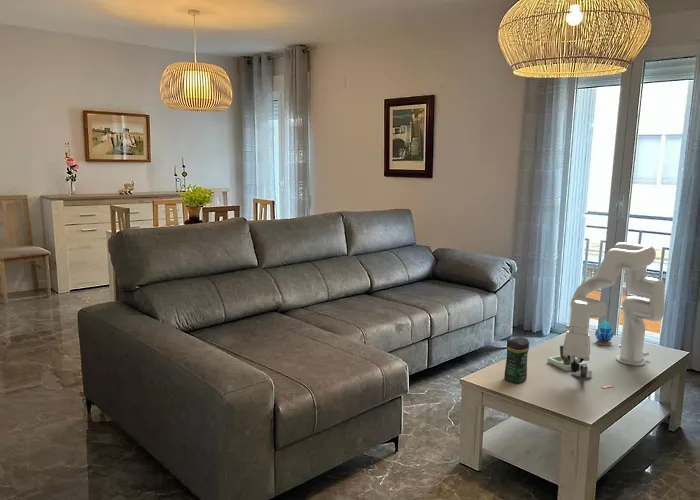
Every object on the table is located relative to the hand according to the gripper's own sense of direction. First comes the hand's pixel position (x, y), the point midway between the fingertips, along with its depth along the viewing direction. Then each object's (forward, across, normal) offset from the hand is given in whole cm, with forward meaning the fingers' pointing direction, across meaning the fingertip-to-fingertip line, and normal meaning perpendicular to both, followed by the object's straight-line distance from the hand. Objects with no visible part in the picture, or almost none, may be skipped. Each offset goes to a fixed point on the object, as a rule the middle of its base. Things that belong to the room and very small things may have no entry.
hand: (574, 371), depth 231 cm
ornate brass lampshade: (+4, -7, +21) cm, 22 cm away
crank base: (+5, +1, +11) cm, 12 cm away
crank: (+3, +2, +6) cm, 7 cm away
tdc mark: (+5, +13, +4) cm, 14 cm away
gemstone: (+4, +1, +65) cm, 65 cm away
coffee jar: (+6, -21, -11) cm, 25 cm away
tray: (+5, -7, +20) cm, 22 cm away
